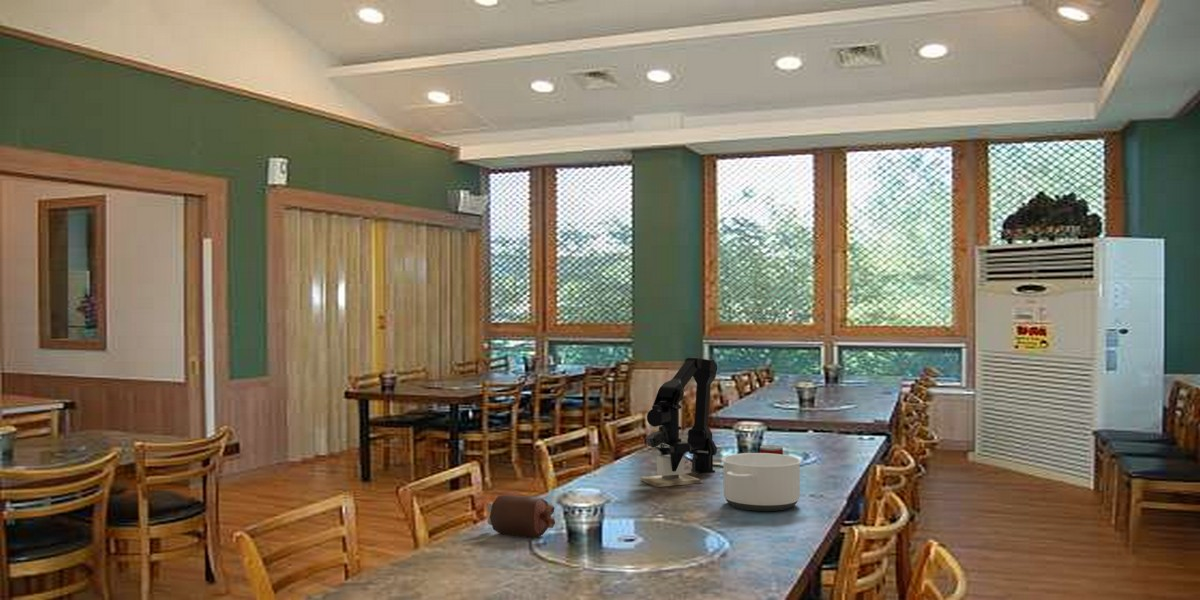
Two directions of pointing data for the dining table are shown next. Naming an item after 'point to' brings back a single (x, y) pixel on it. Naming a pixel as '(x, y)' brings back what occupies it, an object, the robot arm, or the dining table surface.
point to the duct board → (670, 480)
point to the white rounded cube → (668, 466)
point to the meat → (520, 515)
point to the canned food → (771, 449)
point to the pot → (761, 481)
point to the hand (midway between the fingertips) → (670, 470)
